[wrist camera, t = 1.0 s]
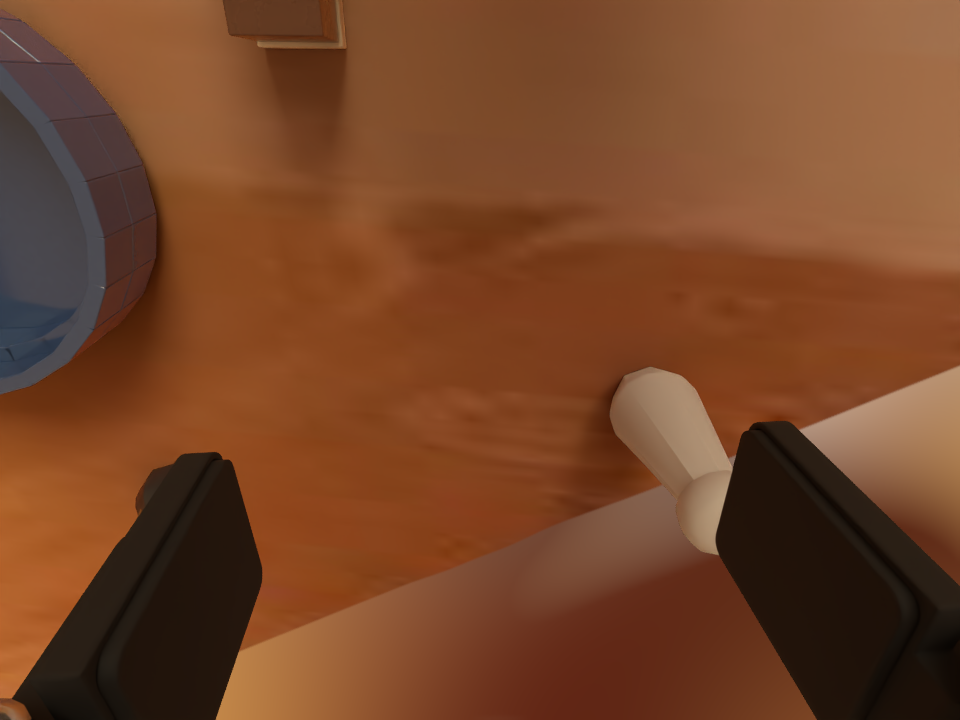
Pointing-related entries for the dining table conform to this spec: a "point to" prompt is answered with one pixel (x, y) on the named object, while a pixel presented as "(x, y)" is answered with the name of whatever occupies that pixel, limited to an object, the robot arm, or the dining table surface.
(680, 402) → the salt shaker
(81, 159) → the bowl
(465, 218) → the dining table surface
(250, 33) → the eraser
